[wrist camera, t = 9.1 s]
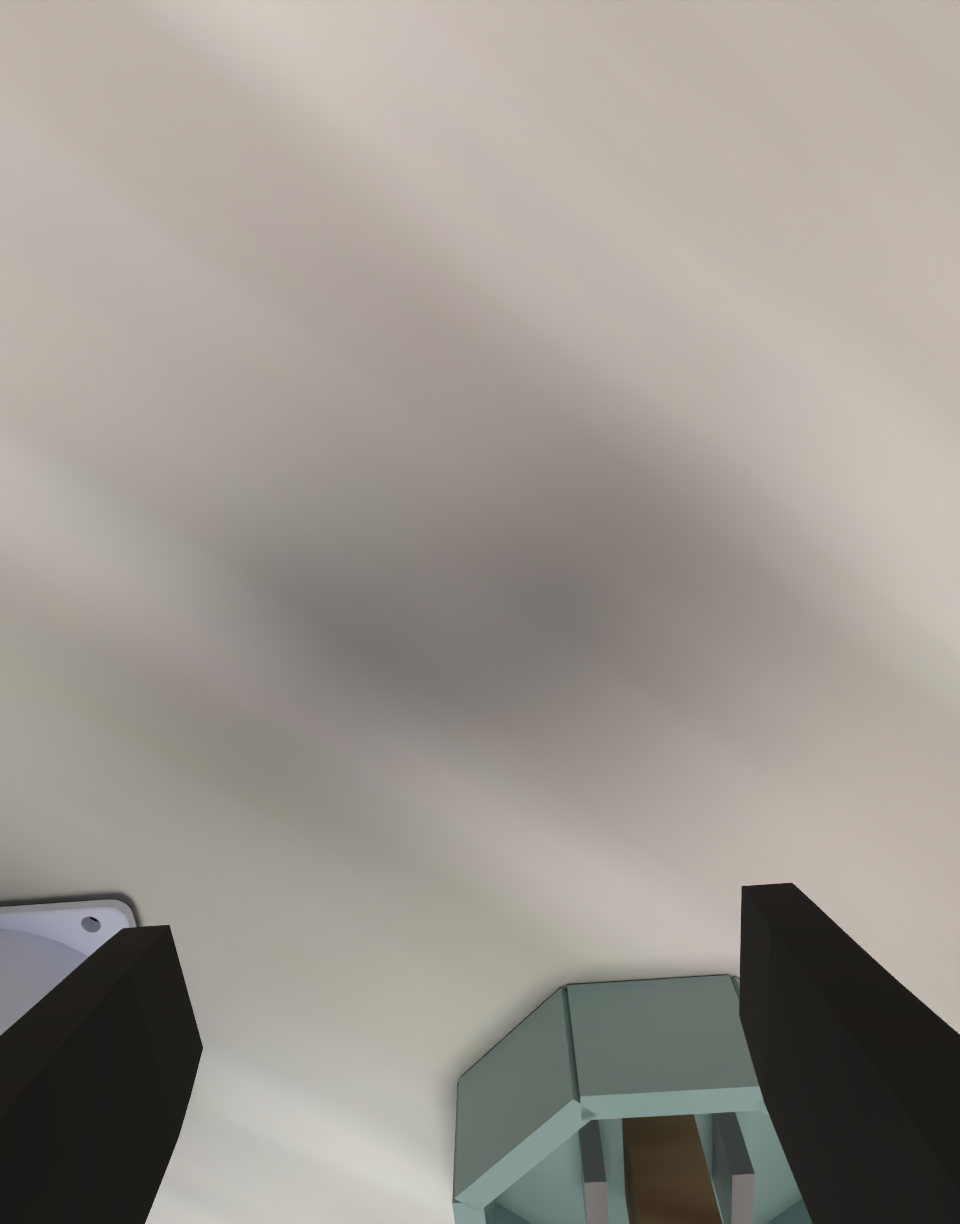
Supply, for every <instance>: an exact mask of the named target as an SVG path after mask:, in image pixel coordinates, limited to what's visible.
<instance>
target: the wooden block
mask: <svg viewBox="0 0 960 1224" xmlns="http://www.w3.org/2000/svg"><path fill="white" fill-rule="evenodd" d="M622 1132H623V1157H624V1181H625V1199H626V1205H627V1212H628V1218H629V1224H722V1220H721V1216H720V1212H719V1209H718V1205H717V1201H716V1197H715V1193H714V1190H713V1186H712V1182H711V1178H710V1174H709V1170H708V1167H707V1163H706V1159H705V1155H704V1151H703V1147H702V1144H701V1140H700V1136H699V1132H698V1128H697V1125H696V1121H695V1117H694V1114H687V1115H669V1116H652V1117H634V1118H622Z"/></svg>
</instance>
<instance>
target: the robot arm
mask: <svg viewBox="0 0 960 1224" xmlns="http://www.w3.org/2000/svg"><path fill="white" fill-rule="evenodd" d="M90 917H94V918H96V919H97V920H98V921H99V922H95V921H93V920H92V919H90ZM739 1017H740V1020H741V1024H742V1027H743V1031H744V1035H745V1038H746V1042H747V1045H748V1049H749V1052H750V1056H751V1060H752V1063H753V1067H754V1070H755V1073H756V1077H757V1080H758V1083H759V1087H760V1090H761V1094H762V1097H763V1100H764V1103H765V1106H766V1108H767V1111H768V1114H769V1116H770V1119H771V1121H772V1124H773V1126H774V1129H775V1131H776V1134H777V1136H778V1139H779V1141H780V1144H781V1146H782V1149H783V1151H784V1154H785V1156H786V1159H787V1161H788V1164H789V1166H790V1169H791V1171H792V1174H793V1176H794V1179H795V1181H796V1184H797V1186H798V1189H799V1191H800V1193H801V1196H802V1198H803V1201H804V1203H805V1206H806V1208H807V1211H808V1213H809V1216H810V1218H811V1221H812V1223H813V1224H960V1034H958V1033H957V1032H956V1031H955V1030H954V1029H953V1028H951V1027H950V1026H949V1025H948V1024H947V1023H946V1022H944V1021H943V1020H942V1019H941V1018H940V1017H939V1016H938V1015H936V1014H935V1013H934V1012H933V1011H932V1010H931V1009H930V1008H928V1007H927V1006H926V1005H925V1004H924V1003H923V1002H921V1001H920V1000H919V999H918V998H917V997H916V996H915V995H913V994H912V993H911V992H910V991H909V990H908V989H907V988H905V987H904V986H903V985H902V984H901V983H900V982H899V981H898V980H896V979H895V978H894V977H893V976H892V975H891V974H890V973H889V972H888V971H886V970H885V969H884V968H883V967H882V966H881V965H880V964H879V963H878V962H877V961H875V960H874V959H873V958H872V957H871V956H870V955H869V954H868V953H867V952H866V951H865V950H864V949H863V948H861V947H860V946H859V945H858V944H857V943H856V942H855V941H854V940H853V939H852V938H851V937H850V936H849V935H847V934H846V933H845V932H844V931H843V930H842V929H841V928H840V927H839V926H838V925H837V924H836V923H835V922H834V921H833V920H832V919H831V918H829V917H828V916H827V915H826V914H825V913H824V912H823V911H822V910H821V909H820V908H819V907H818V906H817V905H816V904H815V903H814V902H813V901H811V900H810V899H809V898H808V897H807V896H806V895H805V894H804V893H803V892H802V891H801V890H800V889H798V888H797V887H796V886H795V885H794V884H793V883H782V884H767V885H753V886H742V900H741V948H740V995H739ZM202 1050H203V1046H202V1042H201V1039H200V1035H199V1031H198V1028H197V1024H196V1020H195V1017H194V1013H193V1009H192V1006H191V1002H190V999H189V995H188V991H187V988H186V984H185V980H184V977H183V973H182V969H181V966H180V962H179V958H178V955H177V951H176V947H175V944H174V940H173V936H172V933H171V929H170V925H161V926H146V927H136V923H135V920H134V916H133V913H132V911H131V909H130V907H128V906H127V905H126V904H125V903H123V902H121V901H119V900H111V899H109V900H94V901H80V902H65V903H51V904H36V905H22V906H8V907H0V1224H145V1222H146V1219H147V1217H148V1214H149V1212H150V1209H151V1207H152V1204H153V1202H154V1199H155V1197H156V1194H157V1192H158V1189H159V1186H160V1184H161V1181H162V1179H163V1176H164V1174H165V1171H166V1169H167V1166H168V1164H169V1161H170V1158H171V1156H172V1153H173V1150H174V1148H175V1145H176V1143H177V1140H178V1137H179V1134H180V1131H181V1127H182V1124H183V1120H184V1117H185V1114H186V1110H187V1107H188V1103H189V1100H190V1096H191V1092H192V1088H193V1085H194V1081H195V1077H196V1073H197V1069H198V1065H199V1061H200V1057H201V1053H202Z"/></svg>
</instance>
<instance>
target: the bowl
mask: <svg viewBox="0 0 960 1224" xmlns="http://www.w3.org/2000/svg"><path fill="white" fill-rule="evenodd" d="M739 995H740V979H738V978H737V977H734V978H733V979H732V980H731V978H730V976H729V975H719V976H703V977H687V978H672V979H656V980H640V981H624V982H608V983H592V984H576V985H567V991H565V990H564V989H562V988H560V989H559V990H558V991H556V992H555V993H554V994H553V995H552V996H551V997H550V998H549V999H548V1000H546V1001H545V1002H544V1003H543V1004H542V1005H541V1006H540V1007H539V1008H538V1009H536V1010H535V1011H534V1012H533V1013H532V1014H531V1015H530V1016H529V1017H528V1018H526V1019H525V1020H524V1021H523V1022H522V1023H521V1024H520V1025H519V1026H518V1027H516V1028H515V1029H514V1030H513V1031H512V1032H511V1033H510V1034H509V1035H507V1036H506V1037H505V1038H504V1039H503V1040H502V1041H501V1042H500V1043H499V1044H497V1045H496V1046H495V1047H494V1048H493V1049H492V1050H491V1051H490V1052H489V1053H487V1054H486V1055H485V1056H484V1057H483V1058H482V1059H481V1060H480V1061H479V1062H477V1063H476V1064H475V1065H474V1066H473V1067H472V1068H471V1069H470V1070H469V1071H467V1072H466V1073H465V1074H464V1075H463V1076H462V1077H461V1078H460V1079H459V1083H458V1084H457V1107H456V1131H455V1154H454V1177H453V1201H452V1204H453V1211H454V1218H455V1224H629V1218H628V1212H627V1205H626V1199H625V1181H624V1157H623V1132H622V1118H634V1117H652V1116H669V1115H687V1114H694V1117H695V1121H696V1125H697V1128H698V1132H699V1136H700V1140H701V1144H702V1147H703V1151H704V1155H705V1159H706V1163H707V1167H708V1170H709V1174H710V1178H711V1182H712V1186H713V1190H714V1193H715V1197H716V1201H717V1205H718V1209H719V1212H720V1216H721V1220H722V1224H813V1223H812V1221H811V1218H810V1216H809V1213H808V1211H807V1208H806V1206H805V1203H804V1201H803V1198H802V1196H801V1193H800V1191H799V1189H798V1186H797V1184H796V1181H795V1179H794V1176H793V1174H792V1171H791V1169H790V1166H789V1164H788V1161H787V1159H786V1156H785V1154H784V1151H783V1149H782V1146H781V1144H780V1141H779V1139H778V1136H777V1134H776V1131H775V1129H774V1126H773V1124H772V1121H771V1119H770V1116H769V1114H768V1111H767V1108H766V1106H765V1103H764V1100H763V1097H762V1094H761V1090H760V1087H759V1083H758V1080H757V1077H756V1073H755V1070H754V1067H753V1063H752V1060H751V1056H750V1052H749V1049H748V1045H747V1042H746V1038H745V1035H744V1031H743V1027H742V1024H741V1020H740V1017H739Z"/></svg>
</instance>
